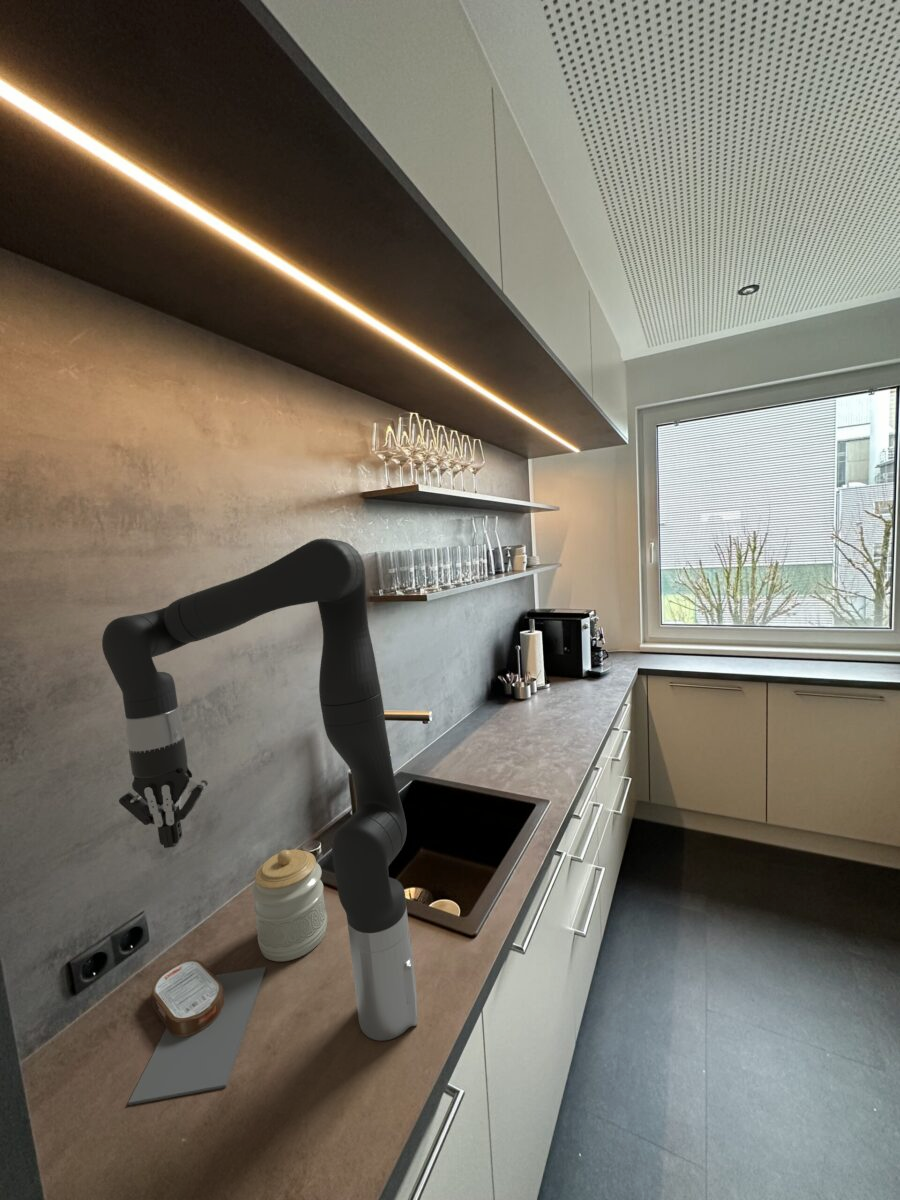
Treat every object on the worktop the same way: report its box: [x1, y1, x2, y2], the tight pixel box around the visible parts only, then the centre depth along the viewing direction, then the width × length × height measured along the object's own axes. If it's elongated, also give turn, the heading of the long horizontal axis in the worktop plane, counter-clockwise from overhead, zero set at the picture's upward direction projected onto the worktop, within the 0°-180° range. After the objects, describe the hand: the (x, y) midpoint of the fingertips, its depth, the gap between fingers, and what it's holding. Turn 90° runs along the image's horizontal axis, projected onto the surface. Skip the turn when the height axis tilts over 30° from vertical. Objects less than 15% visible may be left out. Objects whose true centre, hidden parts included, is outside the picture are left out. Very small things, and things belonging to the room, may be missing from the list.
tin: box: [151, 959, 225, 1037], centre depth 81 cm, size 15×3×8 cm
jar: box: [251, 849, 328, 962], centre depth 94 cm, size 13×13×18 cm
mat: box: [127, 966, 267, 1106], centre depth 77 cm, size 13×20×1 cm, turn 6°
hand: (171, 844), depth 77 cm, fingers closed
